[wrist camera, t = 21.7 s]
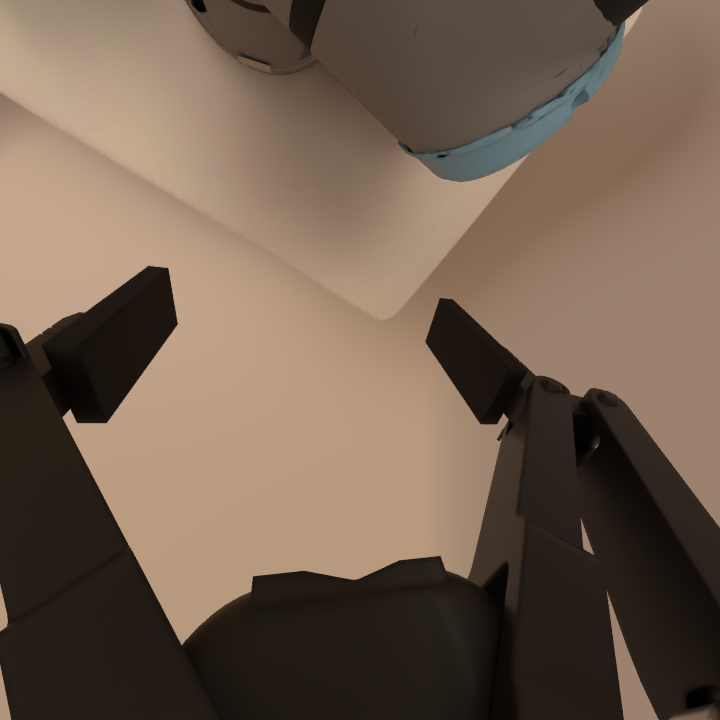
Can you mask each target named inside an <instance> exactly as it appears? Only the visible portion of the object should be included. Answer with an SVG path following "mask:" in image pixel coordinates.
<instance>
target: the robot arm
mask: <svg viewBox="0 0 720 720" xmlns="http://www.w3.org/2000/svg"><path fill="white" fill-rule="evenodd" d="M185 1H186V3H187V4H188V6H189V7H190V9H191V10H192V12H193V14H194V15H195V16H196V18H197V19H198V20H199V22H200V23H201V24H202V26H203V27H204V28H205V30H206V31H207V32H208V33H209V35H210V36H211V37H212V38H213V39H214V40H215V41H216V42H217V43H218V44H219V45H220V46H221V47H222V48H223V49H224V50H225V51H226V52H227V53H228V54H230V55H231V56H232V57H234V58H235V59H236V60H238V61H239V62H240V63H241V64H244V65H246V66H248V67H250V68H253V69H255V70H258V71H261V72H264V73H269V74H290V73H295V72H298V71H300V70H303V69H305V68H307V67H309V66H310V65H312V64H313V63H315V62H316V61H317V60H318V61H319V62H320V63H321V64H322V65H323V66H324V67H325V68H326V69H327V70H328V71H329V72H330V73H331V74H332V75H333V76H334V77H335V78H336V79H337V80H338V81H339V82H340V83H341V84H342V85H344V86H345V87H346V88H347V89H348V90H349V91H350V92H351V93H352V94H353V95H354V96H355V97H356V98H357V99H358V100H359V101H360V102H361V103H362V104H363V105H364V106H365V107H366V108H367V109H368V110H369V111H370V112H371V113H372V114H373V115H374V116H375V117H376V118H377V119H378V120H379V121H380V122H381V123H382V124H383V125H384V126H385V127H386V128H387V129H388V130H389V131H390V132H391V133H392V134H393V135H394V136H395V137H396V138H397V139H398V142H399V145H400V147H401V148H402V149H403V150H404V151H405V152H406V153H407V154H409V155H411V156H414V157H416V158H417V159H419V160H420V161H421V162H422V163H423V164H424V165H425V166H426V167H427V168H428V169H430V170H431V171H432V172H433V173H434V174H435V175H437V176H438V177H440V178H442V179H448V180H451V181H457V182H464V181H471V180H475V179H479V178H482V177H485V176H487V175H490V174H492V173H495V172H497V171H499V170H501V169H503V168H505V167H507V166H509V165H510V164H512V163H514V162H516V161H517V160H519V159H521V158H522V157H524V156H525V155H527V154H528V153H530V152H531V151H533V150H534V149H535V148H537V147H538V146H540V145H541V144H542V143H544V142H545V141H546V140H547V139H549V138H550V137H551V136H552V135H554V134H555V133H556V132H557V131H558V130H559V129H560V128H562V127H563V126H564V125H565V124H566V123H567V122H568V121H569V120H570V119H571V118H572V114H573V109H575V108H576V107H578V106H579V105H582V104H584V103H586V102H587V101H589V100H590V99H591V97H592V96H593V95H594V94H595V93H596V92H597V91H598V89H599V88H600V87H601V85H602V84H603V83H604V81H605V80H606V78H607V77H608V75H609V74H610V72H611V70H612V69H613V66H614V64H615V62H616V60H617V58H618V56H619V54H620V51H621V47H622V40H623V34H624V30H625V20H626V19H627V18H629V17H630V16H631V15H632V14H633V13H634V12H636V11H637V10H638V9H639V8H640V7H641V6H643V5H644V4H645V3H646V2H647V1H648V0H185ZM177 324H178V323H177V317H176V311H175V305H174V299H173V294H172V287H171V281H170V276H169V270H168V268H162V267H153V266H148V267H146V268H145V269H144V270H142V271H141V272H140V273H138V274H137V275H136V276H134V277H133V278H132V279H130V280H129V281H127V282H126V283H125V284H123V285H122V286H121V287H119V288H118V289H117V290H115V291H114V292H113V293H111V294H110V295H108V296H107V297H106V298H104V299H103V300H102V301H100V302H99V303H97V304H96V305H95V306H93V307H92V308H91V309H89V310H88V311H87V312H85V313H81V312H79V313H76V314H73V315H71V316H68V317H65V318H63V319H61V320H60V321H58V322H57V323H56V324H54V325H53V326H52V328H48V329H47V330H45V331H44V332H43V334H39V335H38V336H37V337H35V338H34V339H32V340H31V341H29V342H28V343H27V344H24V342H23V341H22V339H21V336H20V334H19V332H18V330H17V329H16V328H15V327H13V326H12V325H8V324H3V323H0V585H1V589H2V594H3V598H4V602H5V607H6V611H7V617H8V624H7V627H6V628H5V629H3V630H2V631H0V665H1V670H2V675H3V680H4V685H5V690H6V695H7V700H8V705H9V710H10V715H11V720H624V717H623V710H622V703H621V695H620V688H619V680H618V672H617V665H616V657H615V650H614V643H613V635H612V627H611V620H610V613H609V605H608V597H607V592H608V595H609V597H610V601H611V603H612V606H613V609H614V612H615V614H616V617H617V620H618V623H619V625H620V629H621V631H622V634H623V637H624V640H625V643H626V645H627V648H628V651H629V653H630V656H631V658H632V661H633V663H634V666H635V668H636V671H637V673H638V676H639V679H640V681H641V683H642V685H643V687H644V689H645V691H646V694H647V696H648V698H649V700H650V702H651V704H652V706H653V708H654V711H655V713H656V715H657V717H658V719H659V720H720V528H719V526H718V525H717V524H716V522H715V521H714V520H713V518H712V517H711V516H710V514H709V513H708V512H707V510H706V509H705V508H704V506H703V505H702V504H701V503H700V501H699V500H698V499H697V497H696V496H695V495H694V493H693V492H692V491H691V489H690V488H689V487H688V485H687V484H686V483H685V481H684V480H683V479H682V477H681V476H680V475H679V473H678V472H677V471H676V469H675V468H674V467H673V465H672V464H671V463H670V461H669V460H668V459H667V457H666V456H665V455H664V454H663V452H662V451H661V450H660V448H659V447H658V446H657V444H656V443H655V442H654V440H653V439H652V438H651V437H650V435H649V434H648V432H647V431H646V430H645V428H644V427H643V426H642V424H641V423H640V422H639V420H638V419H637V418H636V416H635V415H634V414H633V413H632V411H631V410H630V409H629V407H628V406H627V405H626V404H625V403H624V402H623V401H622V400H621V399H619V398H618V397H617V396H616V395H615V394H612V393H611V392H608V391H604V390H601V389H596V388H591V389H589V390H588V392H587V393H586V394H585V396H584V397H579V396H575V395H571V394H570V391H569V390H568V389H567V387H565V386H564V385H563V384H561V383H560V382H558V381H556V380H554V379H552V378H549V377H545V376H535V375H534V374H533V373H532V372H531V371H530V370H529V369H528V368H527V367H526V366H525V365H524V364H523V363H522V362H519V360H518V359H517V358H516V357H514V355H513V354H512V353H511V352H510V351H509V350H508V349H506V348H505V347H503V346H501V345H500V344H499V343H498V342H497V341H496V340H495V339H494V338H493V337H492V336H491V335H490V334H489V333H488V332H487V331H486V330H485V329H484V328H482V327H481V326H480V325H479V324H478V323H477V322H476V321H475V320H474V319H473V318H472V317H471V316H470V315H468V313H467V312H465V311H464V310H463V309H462V308H461V307H460V306H459V305H458V304H457V303H456V302H455V301H454V300H453V299H444V298H440V300H439V303H438V306H437V309H436V312H435V315H434V318H433V321H432V324H431V327H430V330H429V333H428V336H427V339H426V344H427V345H428V347H429V348H430V349H431V351H432V353H433V354H434V355H435V357H436V358H437V360H438V361H439V363H440V364H441V366H442V367H443V369H444V370H445V372H446V373H447V375H448V376H449V378H450V379H451V381H452V382H453V384H454V385H455V387H456V388H457V390H458V391H459V393H460V394H461V396H462V397H463V398H464V400H465V402H466V403H467V405H468V406H469V407H470V409H471V411H472V412H473V414H474V415H475V417H476V418H477V419H478V421H479V422H480V424H497V423H498V422H499V419H500V418H501V416H502V415H503V413H504V414H505V415H506V417H507V418H508V419H509V420H508V422H507V424H506V425H505V427H504V429H503V430H502V432H501V434H500V435H499V437H498V439H497V440H498V441H500V440H501V439H502V440H501V444H500V449H499V453H498V457H497V461H496V466H495V470H494V474H493V479H492V483H491V487H490V492H489V496H488V500H487V504H486V509H485V513H484V517H483V522H482V526H481V530H480V535H479V539H478V543H477V547H476V552H475V556H474V560H473V565H472V568H471V571H470V574H469V576H468V579H466V578H464V577H461V576H460V575H457V574H454V573H452V572H449V571H446V570H445V568H444V565H443V562H442V559H441V556H436V557H427V558H418V559H408V560H399V561H397V562H395V563H393V564H391V565H388V566H386V567H384V568H382V569H380V570H378V571H375V572H373V573H371V574H369V575H367V576H364V577H362V578H360V579H357V580H350V579H344V578H339V577H334V576H329V575H324V574H317V573H313V572H307V571H298V572H289V573H280V574H272V575H262V576H254V577H253V582H252V590H251V592H249V593H247V594H245V595H243V596H240V597H238V598H237V599H235V600H233V601H231V602H230V603H228V604H226V605H225V606H223V607H222V608H221V609H219V610H218V611H216V612H215V613H214V614H212V615H211V616H210V617H209V618H208V619H207V620H206V621H205V622H204V623H202V624H201V625H200V626H199V627H198V628H197V629H196V630H195V631H194V632H193V633H192V634H191V635H190V637H189V638H188V639H187V640H186V641H185V642H184V643H183V644H182V645H181V643H180V641H179V640H178V638H177V636H176V634H175V632H174V630H173V628H172V626H171V624H170V622H169V620H168V619H167V617H166V615H165V613H164V611H163V609H162V607H161V605H160V603H159V601H158V599H157V598H156V596H155V594H154V592H153V590H152V588H151V586H150V584H149V582H148V580H147V578H146V576H145V574H144V572H143V570H142V569H141V567H140V565H139V563H138V561H137V559H136V557H135V555H134V553H133V552H132V550H131V548H130V547H129V545H128V543H127V541H126V539H125V537H124V536H123V534H122V532H121V530H120V528H119V526H118V524H117V522H116V520H115V518H114V516H113V514H112V512H111V511H110V509H109V507H108V505H107V503H106V501H105V499H104V497H103V495H102V493H101V491H100V489H99V487H98V486H97V484H96V482H95V480H94V478H93V476H92V474H91V472H90V470H89V468H88V466H87V464H86V463H85V460H84V459H83V457H82V455H81V453H80V451H79V449H78V447H77V445H76V443H75V441H74V439H73V437H72V436H71V434H70V432H69V430H68V428H67V426H66V424H65V422H64V420H63V418H62V417H63V416H64V415H65V414H66V413H67V412H68V411H69V410H70V409H71V411H72V413H73V415H74V417H75V420H76V422H77V423H107V422H108V421H109V419H110V418H111V416H112V415H113V414H114V412H115V411H116V409H117V408H118V407H119V405H120V404H121V402H122V401H123V400H124V398H125V397H126V396H127V394H128V393H129V391H130V390H131V389H132V387H133V386H134V384H135V383H136V382H137V380H138V379H139V377H140V376H141V375H142V373H143V372H144V370H145V369H146V368H147V366H148V365H149V363H150V362H151V360H152V359H153V358H154V357H155V355H156V354H157V352H158V351H159V350H160V348H161V347H162V345H163V344H164V343H165V341H166V340H167V338H168V337H169V336H170V334H171V333H172V332H173V330H174V329H175V327H176V326H177ZM598 444H599V445H598ZM597 445H598V446H597ZM596 446H597V448H595V447H596ZM581 519H582V522H583V525H584V528H585V531H586V533H587V536H588V539H589V542H590V545H591V547H592V550H593V553H594V555H593V554H591V553H589V552H587V551H586V550H584V549H583V543H582V530H581ZM606 589H607V590H606Z"/></svg>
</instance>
